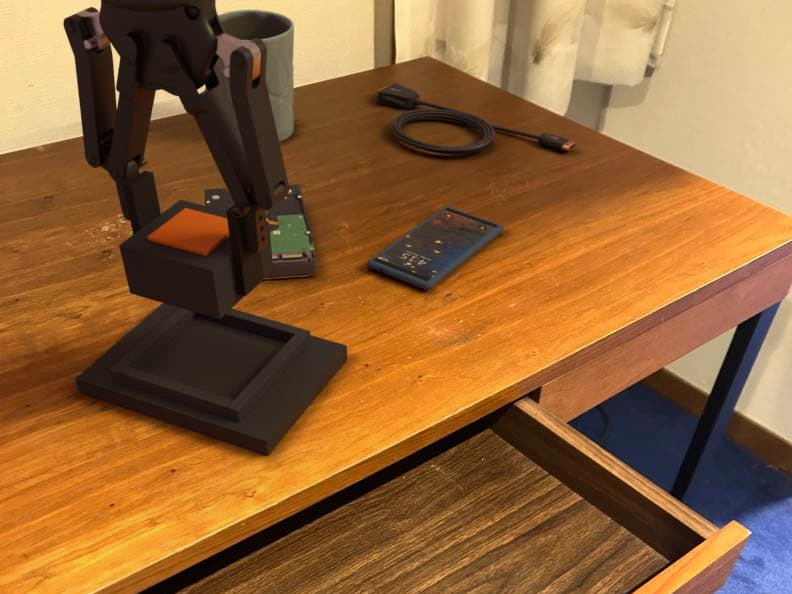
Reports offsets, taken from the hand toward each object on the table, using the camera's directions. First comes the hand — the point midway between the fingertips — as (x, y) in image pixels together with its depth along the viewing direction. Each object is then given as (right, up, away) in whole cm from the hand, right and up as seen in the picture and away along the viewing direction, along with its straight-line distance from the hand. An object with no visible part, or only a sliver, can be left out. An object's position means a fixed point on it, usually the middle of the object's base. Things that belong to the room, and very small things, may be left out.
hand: (201, 272), depth 66 cm
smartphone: (+19, +9, +23) cm, 31 cm away
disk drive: (+1, +10, +22) cm, 25 cm away
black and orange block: (0, 0, +1) cm, 1 cm away
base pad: (0, -7, +7) cm, 10 cm away
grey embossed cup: (-3, +30, +41) cm, 51 cm away
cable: (+21, +30, +42) cm, 56 cm away
